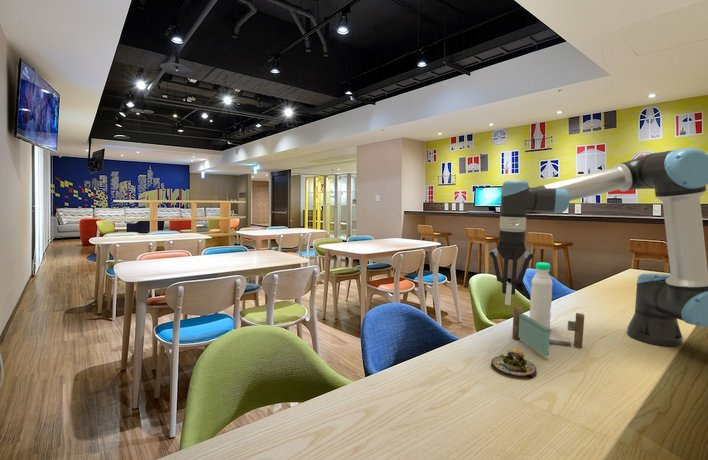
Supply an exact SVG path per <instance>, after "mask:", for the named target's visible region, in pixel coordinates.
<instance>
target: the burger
mask: <svg viewBox="0 0 708 460" xmlns="http://www.w3.org/2000/svg"><path fill="white" fill-rule="evenodd" d="M519 344H520V343H518V345H517V346H520V345H519ZM490 364H491V366H494V367H495V368H496V369H498V370H499V371H501V372H503V373H506V374H508V375H511V376H512V375H513V376H523V377H524V376H529V375H531V376H530V379H535V377H537V376H536V375H537V367H536V365H535V364H533V363H532V362H530V361H529V360H527V359H525V353H524V352H523V351H522V350H520V349H519V347H517V348H511V349H509V350H508V351H507V355H504V354H503V353H501V354H499V356H495V357H493V358H492V359H491V361H490Z"/></svg>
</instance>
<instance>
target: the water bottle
mask: <svg viewBox="0 0 708 460" xmlns="http://www.w3.org/2000/svg"><path fill="white" fill-rule="evenodd" d="M535 270H536V272H535V274H534V276H533V277H532V279H531V281H530V282H531V289H530V301H529V303H530V304H529V305H530V310H529V317H530V318H532V319H533V320H535V321H537V322H539V323H540V324H542V325H544V326H546V327H547V328H549V329H551V316H552V315H551V313H552V312H551V310H552V309H551V308H552V300H553V288H552V287H553V285H554V284H553V281H552V278H551V275H550V274H549V272H550V271H551V264H550V263H549V262H543V261H542V262H541V261H540V262H536V264H535Z"/></svg>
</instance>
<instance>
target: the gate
mask: <svg viewBox="0 0 708 460" xmlns="http://www.w3.org/2000/svg"><path fill="white" fill-rule="evenodd" d="M551 331H552V330H551V328H550V329H549V328H547V327H546V326H544V325H542V324H540V323H539V322H537V321H535V320H533V319H532V318H530V316H528V315H526V314H524V313H522V314H519V334H518V337H519V338H520V339H521V341H523V342H525V343H526V344H528V345H529V346H530V347H532V348H533V349H535V350H536V351H537V352H539V353H540V354H542V355H543V356H549V354H550V353H549V352H550V344H549V339H550V337H551V336H550V334H551ZM550 340H551V339H550Z"/></svg>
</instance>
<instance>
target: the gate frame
mask: <svg viewBox="0 0 708 460" xmlns="http://www.w3.org/2000/svg"><path fill="white" fill-rule="evenodd" d="M523 309H524V308H523V307H521V306H513V317H512V334H511V339H513V340H514V341H522V339H520V338H519V337H518V334H519V314H523ZM584 326H585V314H584V313H580V312H576V313H575V321H573V320H568V321H567V331H569V332H570V331H571V332H574V336H573V347H574V348H578V349H583V340H584V330H585V329H584ZM549 345H553V346H561V347H568V348H571V347H572V343H571V342H570V341H566V340H565V341H564V340H558V339H549Z"/></svg>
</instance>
